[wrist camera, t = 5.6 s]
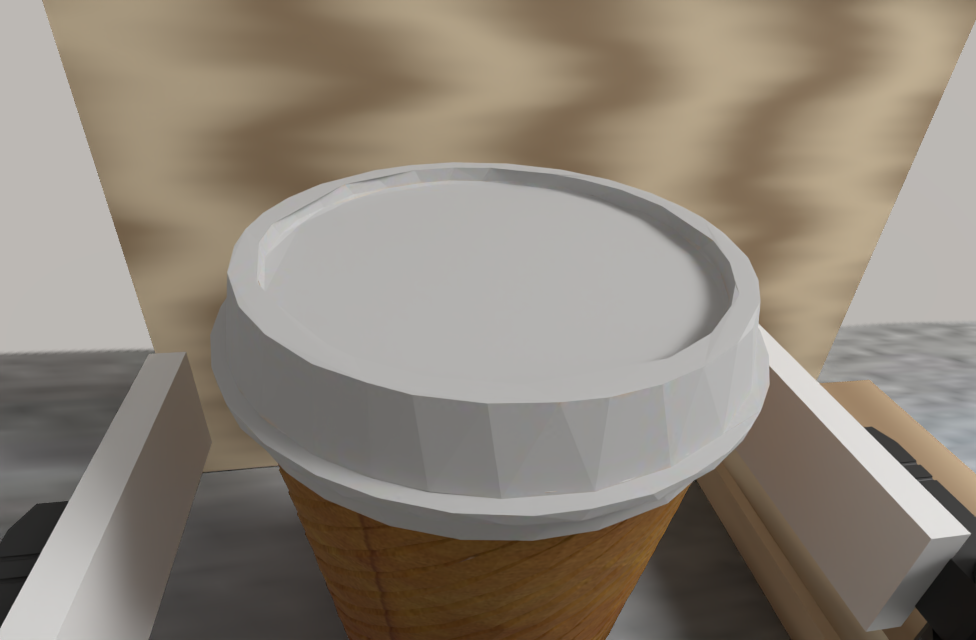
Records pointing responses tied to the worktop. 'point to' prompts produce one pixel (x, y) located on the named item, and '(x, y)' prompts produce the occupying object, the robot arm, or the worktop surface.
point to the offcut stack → (779, 552)
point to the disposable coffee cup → (487, 388)
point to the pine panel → (505, 127)
